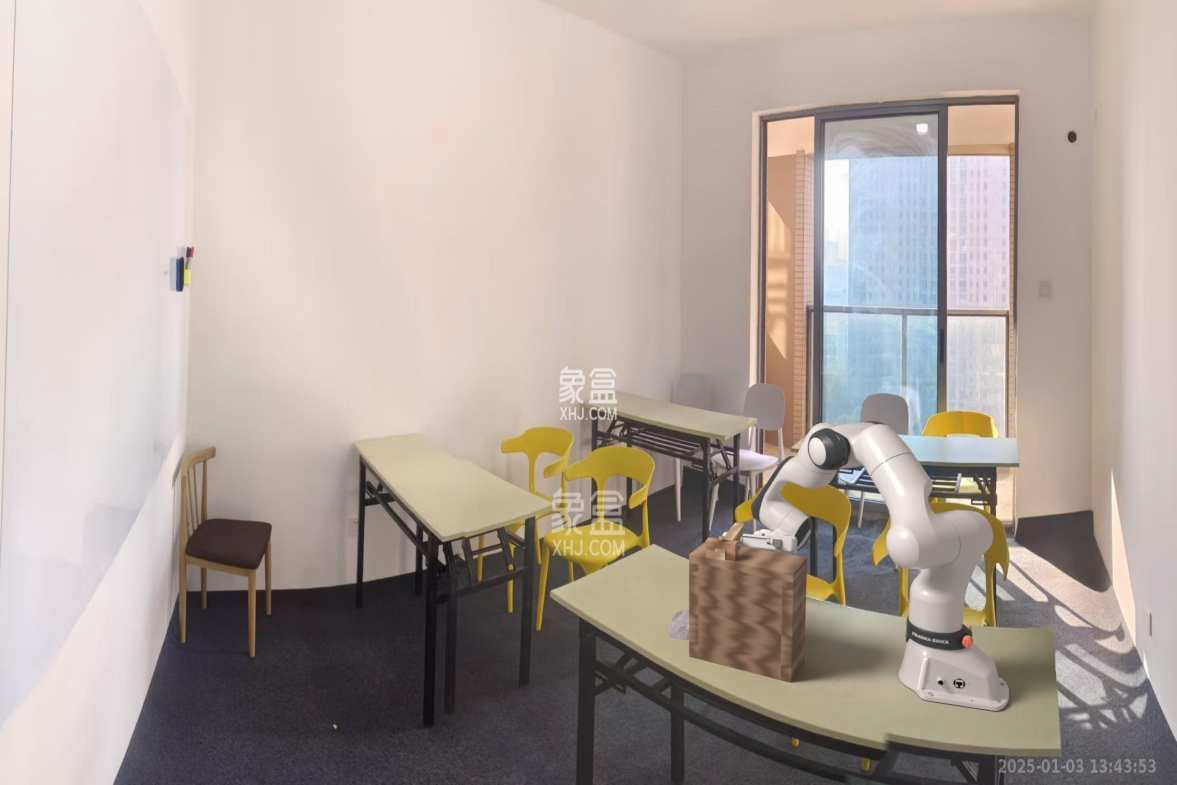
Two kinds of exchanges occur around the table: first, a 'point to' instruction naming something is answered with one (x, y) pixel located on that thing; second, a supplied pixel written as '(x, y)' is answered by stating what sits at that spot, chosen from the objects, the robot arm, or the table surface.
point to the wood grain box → (749, 611)
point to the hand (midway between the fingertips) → (752, 539)
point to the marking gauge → (725, 544)
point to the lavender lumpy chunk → (680, 625)
